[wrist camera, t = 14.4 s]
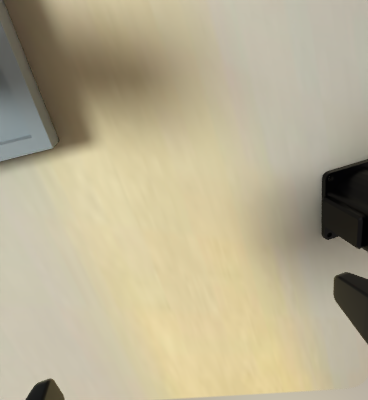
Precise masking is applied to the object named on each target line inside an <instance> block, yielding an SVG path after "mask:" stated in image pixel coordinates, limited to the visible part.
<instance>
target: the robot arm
mask: <svg viewBox="0 0 368 400" xmlns="http://www.w3.org/2000/svg"><path fill="white" fill-rule="evenodd" d="M329 177H330V178H329ZM328 178H329V179H328ZM322 236H323V237H324V238H325V239H327V240H329V239H332V238H335V237H338V236H340V237H341V238H343V239H344V240H346V241H347V242H349V243H350V244H352V245H353V246H355V247H356V248H358V249H360V248H363V249H364V250H366V251H367V252H368V160H364V161H361V162H358V163H354V164H351V165H348V166H344V167H341V168H338V169H334V170H331V171H328V172H326V173H325V174H324V175H323V177H322ZM333 294H334V298H335V300H336V302H337V303H338V305H339V306H340V308H341V309H342V310H343V312H344V313H345V314H346V316H347V317H348V318H349V320H350V321H351V322H352V324H353V325H354V327H355V328H356V329H357V331H358V332H359V333H360V335H361V336H362V337H363V339H364V340H365V341H366V343H367V344H368V279H365V278H363V277H360V276H357V275H354V274H351V273H348V272H345V273H342V274H339V275H336V276H335V278H334V293H333ZM26 400H64V396H63V394H62V392H61V391H60V389H59V387H58V386H57V384H56V383H55V381H54V380H53V379H47V380H44V381H41V382H39V383H37V384H36V385H35V386H34V387H33V389H32V390H31V392H30V393H29V395H28V396H27V398H26Z"/></svg>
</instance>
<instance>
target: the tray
mask: <svg viewBox="0 0 368 400" xmlns="http://www.w3.org/2000/svg"><path fill="white" fill-rule="evenodd" d="M58 142H59V139H58V136H57V134H56V131H55V129H54V126H53V124H52V121H51V119H50V116H49V114H48V111H47V109H46V106H45V104H44V101H43V99H42V96H41V94H40V91H39V89H38V86H37V84H36V81H35V79H34V76H33V74H32V71H31V69H30V66H29V64H28V61H27V59H26V56H25V54H24V51H23V49H22V46H21V44H20V41H19V39H18V36H17V34H16V31H15V29H14V26H13V24H12V21H11V19H10V16H9V14H8V11H7V9H6V6H5V4H4V1H3V0H0V161H4V160H8V159H12V158H16V157H20V156H24V155H28V154H32V153H36V152H39V151H43V150H47V149H51V148H53V147H54V146H55V145H56V144H57V143H58Z"/></svg>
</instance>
